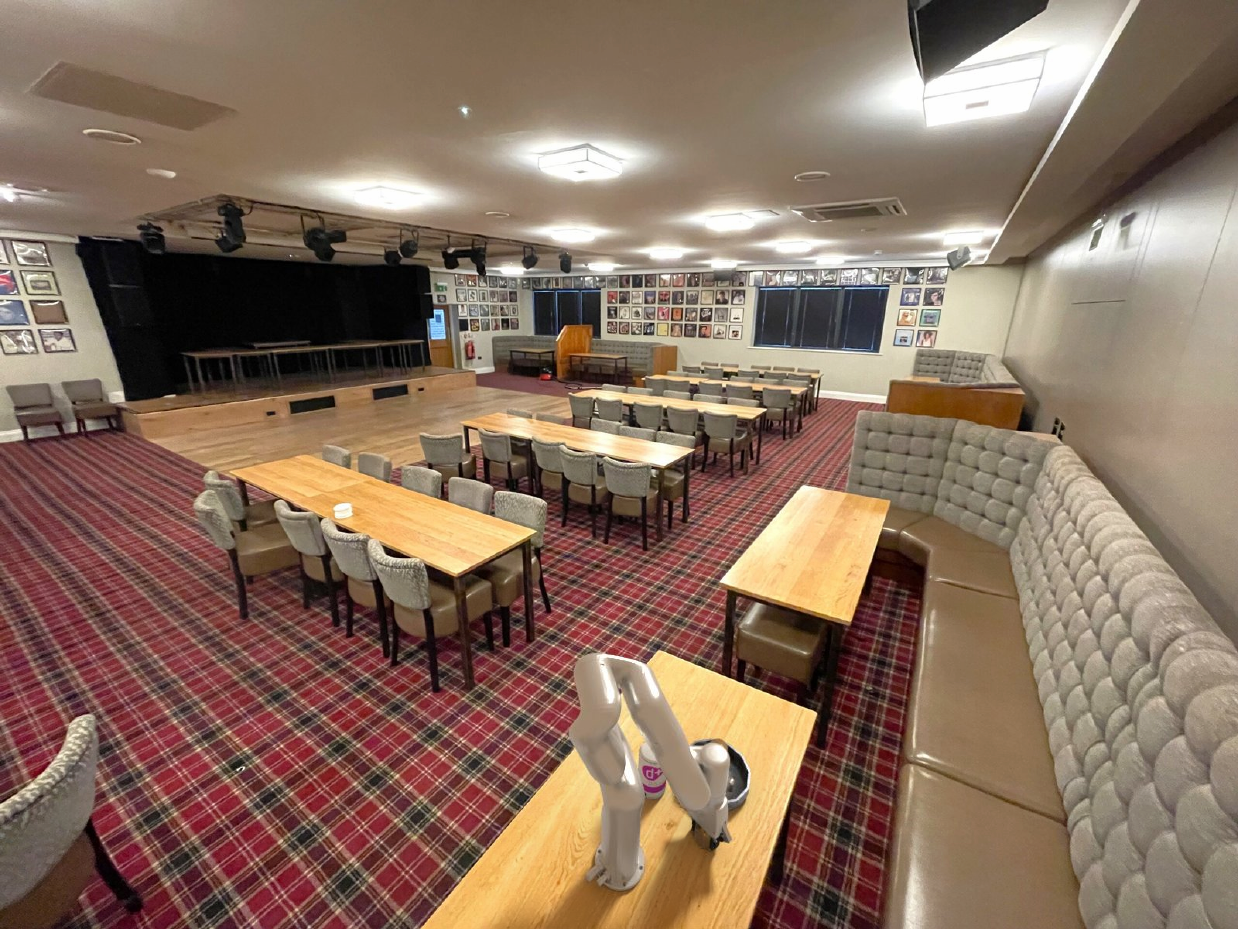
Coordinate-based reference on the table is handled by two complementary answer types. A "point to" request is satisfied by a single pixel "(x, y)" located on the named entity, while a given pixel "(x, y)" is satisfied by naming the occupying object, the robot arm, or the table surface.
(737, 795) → the tray
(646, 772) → the supplement can
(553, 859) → the table surface
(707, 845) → the tan hollow faceted cylinder
